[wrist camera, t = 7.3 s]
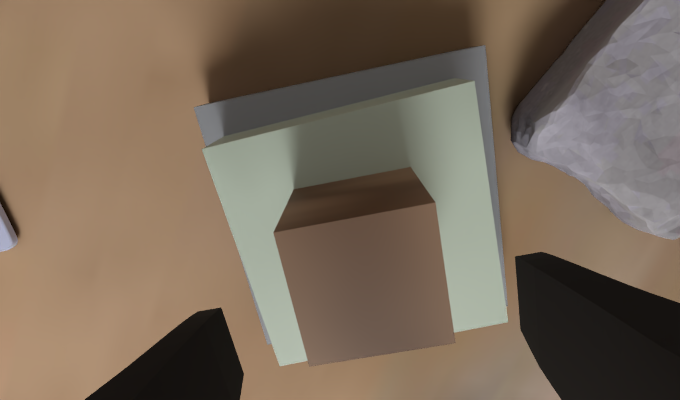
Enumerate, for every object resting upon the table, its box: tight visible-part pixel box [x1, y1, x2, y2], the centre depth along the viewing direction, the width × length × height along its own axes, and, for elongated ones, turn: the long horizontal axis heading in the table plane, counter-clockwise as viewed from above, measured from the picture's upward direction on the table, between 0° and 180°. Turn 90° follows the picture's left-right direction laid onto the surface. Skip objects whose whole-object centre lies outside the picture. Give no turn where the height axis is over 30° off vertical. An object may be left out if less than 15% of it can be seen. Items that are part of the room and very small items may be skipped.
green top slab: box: [202, 78, 508, 366], centre depth 16 cm, size 9×9×2 cm
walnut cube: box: [273, 167, 455, 366], centre depth 12 cm, size 4×4×4 cm
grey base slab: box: [194, 45, 508, 344], centre depth 18 cm, size 11×11×2 cm
